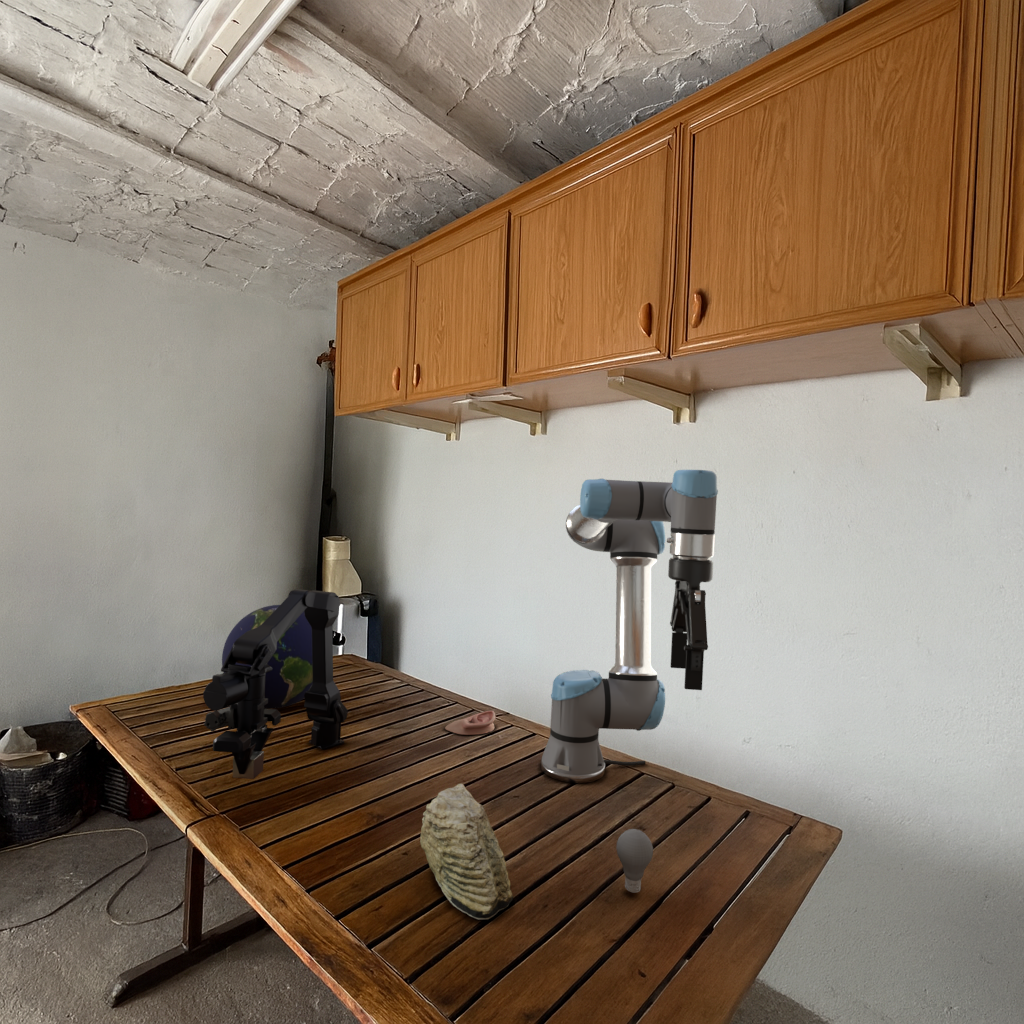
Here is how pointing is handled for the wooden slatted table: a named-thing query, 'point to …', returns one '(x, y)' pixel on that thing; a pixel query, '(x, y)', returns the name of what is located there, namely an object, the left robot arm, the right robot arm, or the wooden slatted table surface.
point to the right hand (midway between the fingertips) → (685, 678)
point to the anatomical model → (473, 724)
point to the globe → (281, 658)
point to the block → (251, 766)
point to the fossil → (465, 854)
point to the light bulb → (634, 857)
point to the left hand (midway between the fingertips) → (247, 769)
